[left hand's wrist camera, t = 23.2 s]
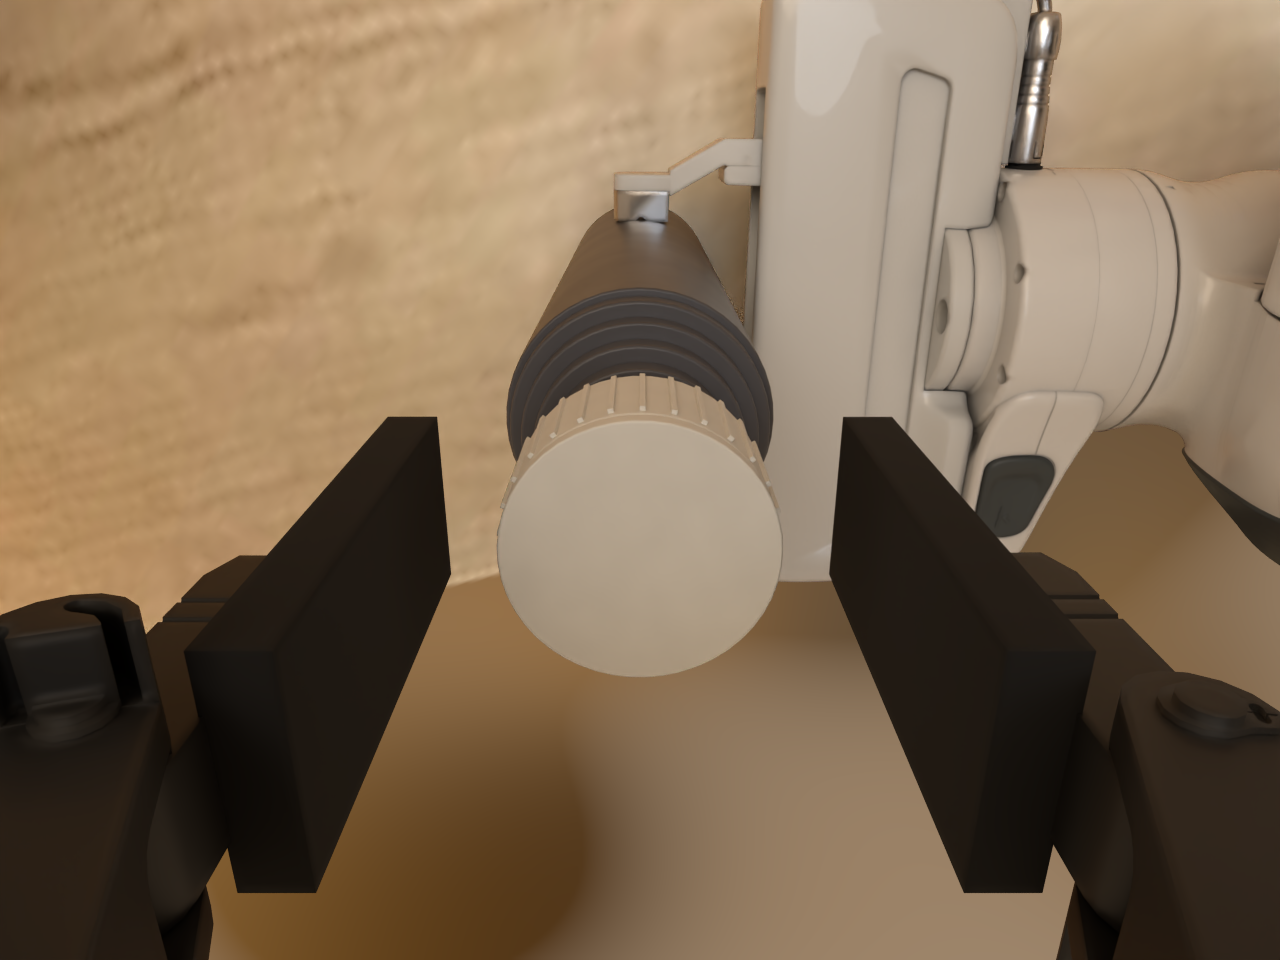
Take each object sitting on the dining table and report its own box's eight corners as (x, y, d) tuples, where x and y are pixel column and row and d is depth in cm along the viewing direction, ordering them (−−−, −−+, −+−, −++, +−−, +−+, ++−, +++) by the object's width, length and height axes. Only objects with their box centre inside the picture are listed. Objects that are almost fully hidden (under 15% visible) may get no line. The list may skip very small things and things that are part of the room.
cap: (605, 642, 15) (600, 725, 13) (463, 458, 14) (431, 518, 12) (810, 526, 14) (839, 595, 12) (678, 320, 13) (686, 357, 11)
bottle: (685, 349, 37) (762, 721, 14) (562, 318, 37) (426, 651, 13) (720, 222, 35) (878, 407, 12) (591, 188, 35) (492, 310, 11)
